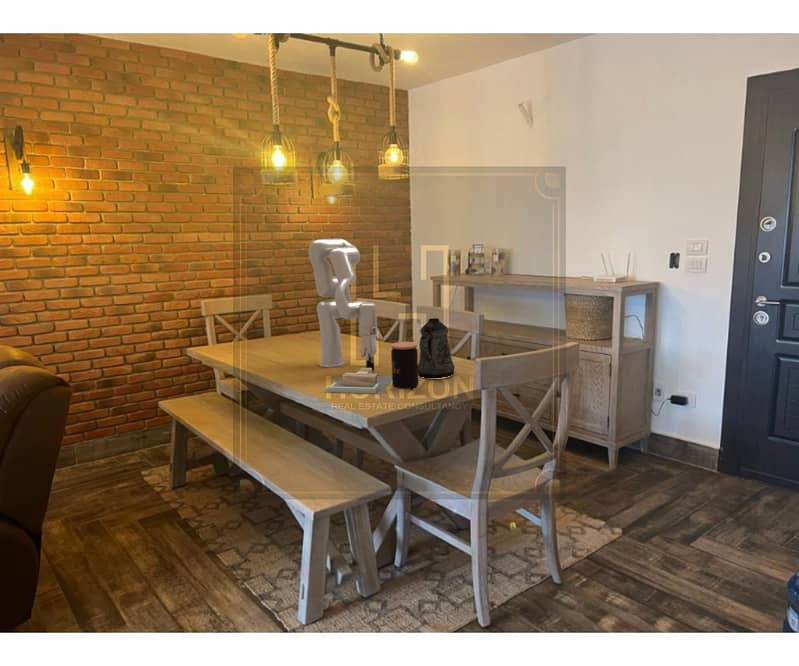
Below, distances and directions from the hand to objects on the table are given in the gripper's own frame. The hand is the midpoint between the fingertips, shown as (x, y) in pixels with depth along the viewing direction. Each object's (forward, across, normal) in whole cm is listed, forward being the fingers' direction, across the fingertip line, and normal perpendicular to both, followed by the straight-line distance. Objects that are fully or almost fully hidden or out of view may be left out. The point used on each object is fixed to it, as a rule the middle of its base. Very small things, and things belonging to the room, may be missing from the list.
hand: (370, 371), depth 258 cm
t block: (+1, +12, 0) cm, 12 cm away
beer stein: (+2, -3, +29) cm, 29 cm away
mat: (+2, +17, 0) cm, 18 cm away
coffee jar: (+2, +16, +19) cm, 25 cm away
